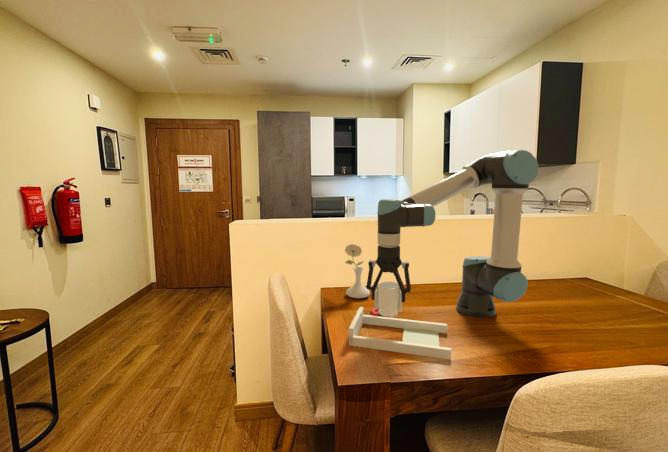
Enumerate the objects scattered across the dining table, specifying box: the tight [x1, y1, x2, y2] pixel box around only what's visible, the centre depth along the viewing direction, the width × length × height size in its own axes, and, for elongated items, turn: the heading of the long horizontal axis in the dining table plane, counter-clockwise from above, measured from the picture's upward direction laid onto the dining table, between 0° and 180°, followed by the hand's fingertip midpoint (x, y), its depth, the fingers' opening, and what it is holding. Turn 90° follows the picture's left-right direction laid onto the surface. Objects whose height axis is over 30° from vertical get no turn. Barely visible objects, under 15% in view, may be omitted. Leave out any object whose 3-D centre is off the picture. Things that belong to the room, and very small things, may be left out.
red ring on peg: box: [370, 307, 386, 317], centre depth 132 cm, size 8×13×9 cm
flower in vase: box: [344, 243, 371, 299], centre depth 151 cm, size 13×11×25 cm
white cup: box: [376, 281, 401, 318], centre depth 110 cm, size 8×8×10 cm
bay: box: [348, 306, 452, 361], centre depth 110 cm, size 32×19×6 cm, turn 74°
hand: (388, 309), depth 111 cm, fingers closed on white cup, 8 cm apart
